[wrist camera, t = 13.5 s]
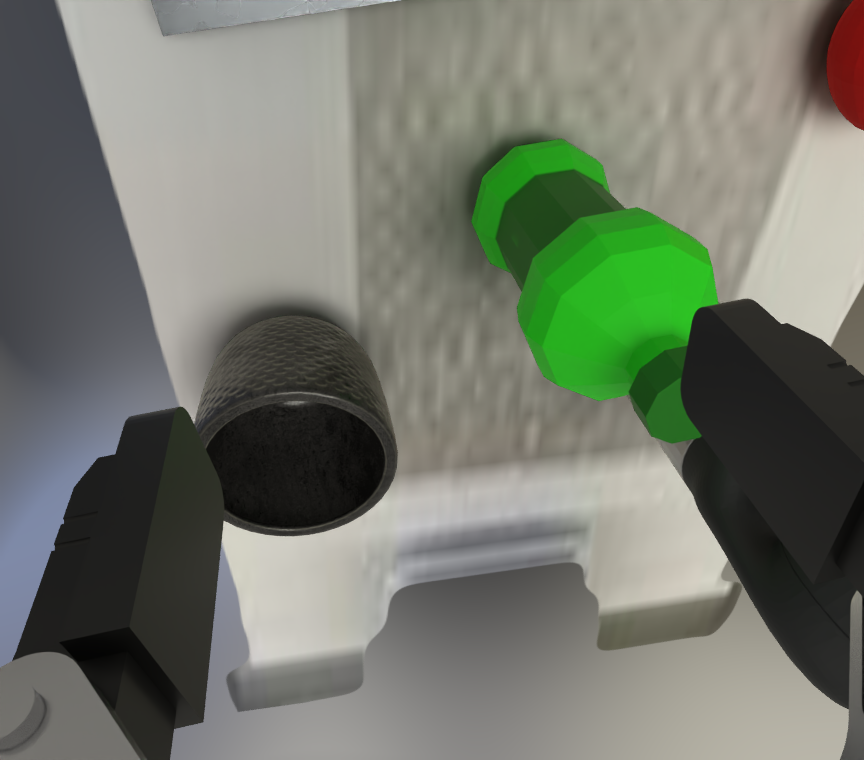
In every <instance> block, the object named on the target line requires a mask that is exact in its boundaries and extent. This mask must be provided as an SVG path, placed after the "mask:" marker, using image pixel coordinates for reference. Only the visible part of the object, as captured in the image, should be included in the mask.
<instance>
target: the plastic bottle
mask: <svg viewBox="0 0 864 760" xmlns="http://www.w3.org/2000/svg"><path fill="white" fill-rule="evenodd" d="M471 222H472V224H473V227H474V229H475V231H476V233H477V236H478V238H479V240H480V243H481V245H482V247H483V249H484V252H485V254H486V256H487V258H488V260H489V262H490V264H492V265H495V266H497V267H499V268H501V269H503V270H505V271H508V272H510V273H511V274H512V275H513V277H514V279H515V281H516V282H517V284H518V286H519V288H520V289H521V291H522V293H521V296H520V299H519V302H518V306H517V313H518V320H519V323H520V326H521V328H522V330H523V333H524V335H525V337H526V340H527V342H528V344H529V346H530V349H531V351H532V353H533V356H534V358H535V360H536V363H537V364H538V366H539V368H540V370H541V372H542V374H543V376H544V377H545V378H547V379H548V380H550V381H552V382H553V383H555V384H557V385H558V386H561V387H563V388H566V389H569V390H571V391H574V392H576V393H579V394H582V395H584V396H587V397H590V398H592V399H595V400H598V401H601V400H606V399H611V398H616V397H621V396H626V395H630V398H631V402H632V405H633V408H634V411H635V412H636V414H637V415H638V417H639V418H640V420H641V421H642V423H643V424H644V426H645V427H646V429H647V431H648V432H649V434H650V435H651V436H652V437H655V438H657V439H660V440H663V441H666V442H668V443H671V444H673V443H677V442H682V441H687V440H692V439H696V438H700V437H701V436H702V435H701V434H700V433H699V431H698V430H697V429H696V427H695V426H694V425H693V423H692V422H691V421H690V419H689V418H688V416H687V414H686V411H685V409H684V406H683V403H682V399H681V391H680V384H681V377H682V372H683V367H684V361H685V356H686V351H687V345H688V340H689V335H690V329H691V324H692V319H693V316H694V314H695V312H696V311H697V310H698V309H699V308H701V307H705V306H710V305H715V304H718V299H717V293H716V287H715V281H714V274H713V268H712V264H711V261H710V257H709V253H708V250H707V249H706V248H705V247H704V246H703V245H702V244H701V243H700V242H698V241H697V240H696V239H695V238H693V237H692V236H690V235H688V234H687V233H685V232H683V231H681V230H680V229H678V228H676V227H675V226H673V225H671V224H669V223H668V222H666V221H664V220H662V219H661V218H659V217H657V216H656V215H654V214H652V213H650V212H648V211H645V210H642V209H640V208H637V207H636V208H631V209H625V208H624V207H623V206H622V205H621V204H620V203H619V202H618V201H617V200H616V199H615V198H614V197H613V196H612V195H611V194H610V191H609V188H608V184H607V180H606V176H605V173H604V169H603V165H602V164H601V163H600V162H598V161H597V160H596V159H595V158H593V157H591V156H590V155H588V154H586V153H585V152H583V151H581V150H580V149H578V148H576V147H575V146H573V145H571V144H570V143H568V142H566V141H565V140H563V139H557V140H551V141H545V142H539V143H534V144H528V145H522V146H516V147H514V148H513V149H511V150H510V151H509V152H508V153H507V154H506V155H505V156H504V157H503V158H502V159H501V160H500V161H499V162H498V163H497V164H495V165H494V166H493V167H492V168H491V169H490V170H489V171H488V172H487V173H486V174H485V175H484V176H483V178H482V181H481V185H480V189H479V193H478V197H477V201H476V205H475V209H474V213H473V217H472V221H471Z"/></svg>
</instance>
